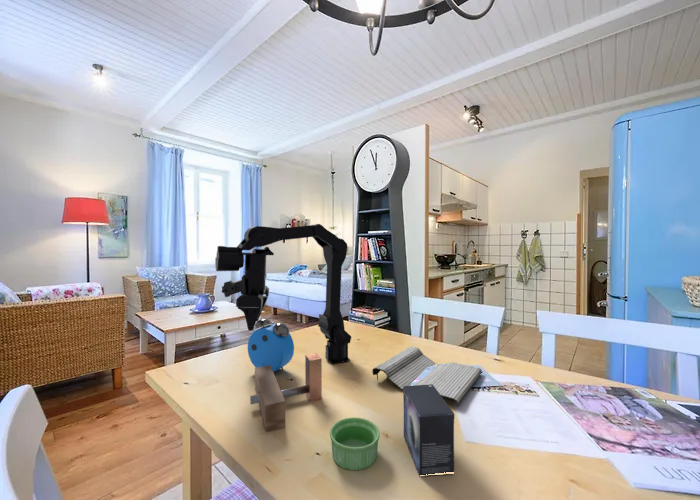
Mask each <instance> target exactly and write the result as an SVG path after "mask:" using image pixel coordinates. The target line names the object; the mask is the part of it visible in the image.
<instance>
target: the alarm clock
mask: <svg viewBox="0 0 700 500" xmlns="http://www.w3.org/2000/svg"><path fill="white" fill-rule="evenodd" d="M254 329H255V330H253V332H252V333H251V334H250V336H249V338H248V341H247V354H248V357H249V360H250V361H251V363H252V365H253V366H254V368H256V367H263V366H269V365H271V368H272V370H273V373H275V372H277V371H278V370H280V369H281V370H282V371H283V370H284V367H285V366H286V365H288V364H289V363H290V362H291V360H292V359H293V356H294V354H295V344H294V343H295V342H294V340H293V337H292V335H291V334H290V328H289V325H287V324H286V323H284V322H277V323H275V322H272V321H271V319H268V318H259V319H258V321H256V323H255V326H254Z"/></svg>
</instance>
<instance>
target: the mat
mask: <svg viewBox="0 0 700 500" xmlns="http://www.w3.org/2000/svg"><path fill="white" fill-rule="evenodd" d="M433 365H434V366H436V365H437V367H436V369H434V370H433V371H432V372H431V373H430V374H429V375H427V376H426V377H425V378H423V379H422V380H420V381H419V382H418V383H416V384H415V385H430V384H433V386H434V387H435V388H436V390H437V391H438V392H439V394H440V395H441V396H442V398H446V399H449V400H451V401H455V402H456V404H457V405H459V404H461V402H462V400H463V399H464V398H465V397H466V396H467V394H468V393H469V391H470V390H471V389H472V387H473V386H474V384H475V383H476V382H477V381H478V380H479V378H480V377H481V376H480V374H481V373H482V374H483V370H482V369H481V368H479V367H475V366H472V365H468V364H461V363H458V362H446V363H445V362H443V363H437V362H435V361H433V360H432V359H431V358H429V357H428V356H427V355H425V354H424V353H423V352H422V351H421V349H420V348H419V347H416V346H409V347H408V348H406V349H405V350H402V351H401V352H399V353H397V354H395V355H394V356H392V357H391V358H389V359H387V360H385V361H384V362H382V363H380V364H378V365H377V366H375V367H373V368H372V371H371V372H372V373H371V374H372V375H373V376H376V381H377V382H379V373H380V372H383V373H384V374H385V375H386V377H387V379H388V380H390V382H392V383H393V384H394V385H395V386H397V388H398V389H401V390H402V391H403V386H411V383H412V382H413V381H414V380H415V379H416V378H417V377H418V376H419V375H420V374H421V373H422V372H423V371H424V370H425V369H426V368H427V367H430V366H433ZM482 374H481V375H482ZM479 376H480V377H479ZM478 377H479V378H478ZM476 380H477V381H476Z"/></svg>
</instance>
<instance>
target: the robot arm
mask: <svg viewBox="0 0 700 500" xmlns="http://www.w3.org/2000/svg"><path fill="white" fill-rule="evenodd" d="M243 236H244V237H243V238H242V240H241V242H239V244H238V245H237V246H224V245H218V246H217V248H216V249H217V251H216V256H215V265H214V266H215V272H239V271H240V269H242V268H243V267H244V273H243V275H241V279H239V280H235V281H232V280H228V281H225V282H224V283H223V285H221V293H223V295H224V297H225V298H228V297H231V296H233V295H234V294H238V293H240V295H239V296H238V297H237V298H236V300H235V307H237V309H238V310H240V311H241V312H242V313H243V314H244V318H245V321H246V326H247V330H248V331H249V332H252V331H254V329H255V324H256V322H257V321H259V320H260V317H261V315H262V312H263V310H264V308H265V305H266V303H267V301H268V298H269V296H270V288H269V287H268V286H267V285H266V279H267V272H266V271H267V256H274V255H275V254H274V253H275V252H273V251H272V250H271V249H270V248H269V246H268V245H272V244H274V243H278V242H280V241H287V240H297V239H307V238H312V239H314V241H315V242H316V244H318V246H320V247H321V248H322V251H323V258H324V261H325V263H326V284H325V285H326V287H325V289H326V290H325V309H324V311H323V313H322V314H321V313H320V314H318V320H319V321H318V325H317V327H319V330H320V332H321V334H323V335H324V337H325V339H327V340H326V345H325V358H326V360H327V361H328V362H329V363H330V364H332V365H335V364H339V363H340V364H341V363H344V362H345V363H346V362H350V361H351V359H350V358H349V344H350V343H351V340H352V335H350V334H349V333H348V331H346V329H345V321H344V318H343V315H342V312H341V292H342V267H343V264H344V262H345V260H346V258H347V252H348V242H346V241H345V240H344V239H343V238H339V237H338V236H337V235H336V234H334V233H333V232H331V231H330V230H328V229H327V228H325V227H324V226H323V225H322V224H321V223H315V224H310V225H301V226H292V227H289V226H288V227H280V228H279V227H271V226H260V225H257V226H253V227H249V228H247V229H246V231H245V232H244V235H243ZM261 247H264V248H262V249H261ZM251 250H252V251H251ZM243 251H251V252H243Z"/></svg>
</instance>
